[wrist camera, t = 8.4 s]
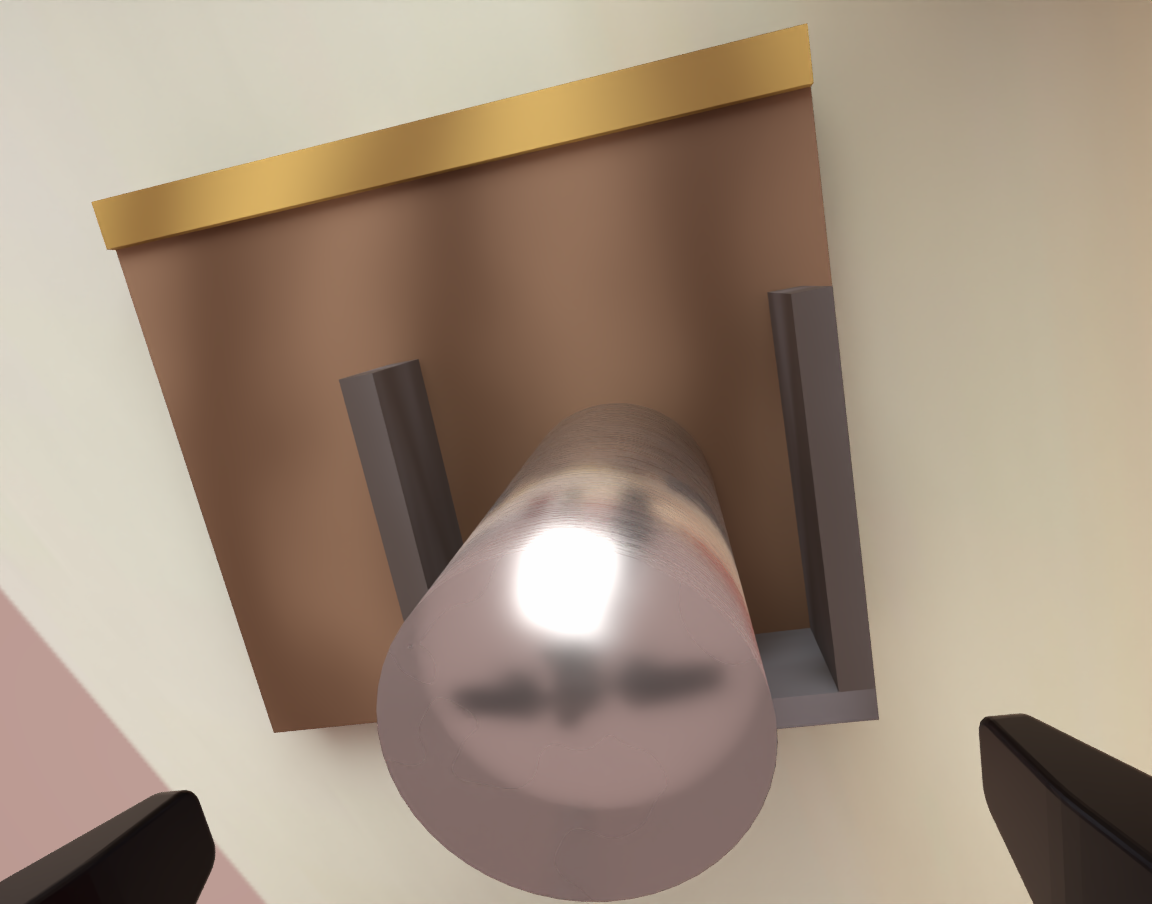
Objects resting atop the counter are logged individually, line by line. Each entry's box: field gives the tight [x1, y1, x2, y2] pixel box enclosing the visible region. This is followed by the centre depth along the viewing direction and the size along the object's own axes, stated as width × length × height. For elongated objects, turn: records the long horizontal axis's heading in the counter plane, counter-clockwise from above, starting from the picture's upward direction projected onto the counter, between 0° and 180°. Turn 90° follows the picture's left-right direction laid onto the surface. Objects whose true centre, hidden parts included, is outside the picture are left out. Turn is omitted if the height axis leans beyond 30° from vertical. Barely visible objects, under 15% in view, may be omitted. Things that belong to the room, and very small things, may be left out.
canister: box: [376, 403, 778, 902], centre depth 13 cm, size 5×5×10 cm
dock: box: [92, 24, 879, 733], centre depth 18 cm, size 18×16×5 cm
